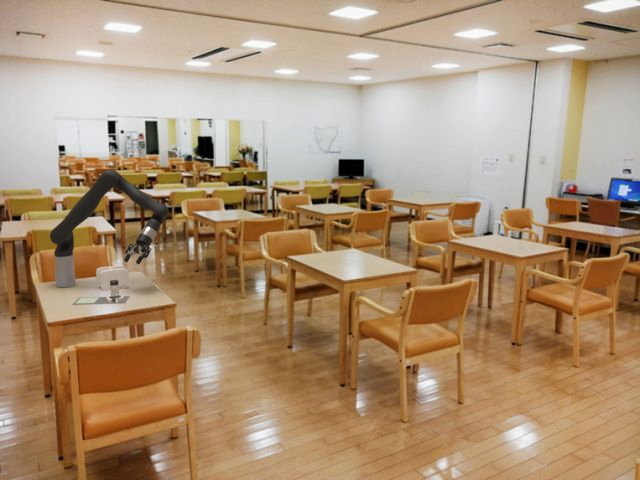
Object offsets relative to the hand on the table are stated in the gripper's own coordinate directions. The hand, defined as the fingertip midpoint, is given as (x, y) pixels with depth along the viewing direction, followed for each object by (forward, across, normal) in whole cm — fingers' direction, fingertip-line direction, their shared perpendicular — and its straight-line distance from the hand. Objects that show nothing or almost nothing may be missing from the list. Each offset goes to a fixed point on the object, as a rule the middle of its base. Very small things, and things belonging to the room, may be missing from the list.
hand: (131, 262), depth 278 cm
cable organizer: (+10, -20, +16) cm, 28 cm away
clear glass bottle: (+20, 0, +4) cm, 21 cm away
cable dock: (+24, -6, +2) cm, 24 cm away
